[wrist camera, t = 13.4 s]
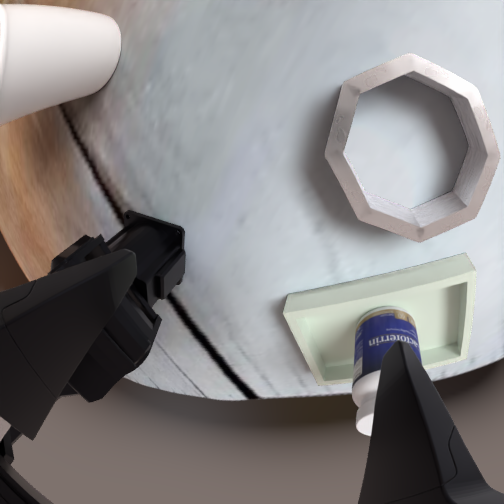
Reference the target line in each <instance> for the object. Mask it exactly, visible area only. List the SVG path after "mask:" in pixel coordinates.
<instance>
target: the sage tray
mask: <svg viewBox="0 0 504 504" xmlns="http://www.w3.org/2000/svg"><path fill="white" fill-rule="evenodd" d="M475 289H476V269H475V267H474V265H473V264H472V262H471V260H470V258H469V257H468V255H467V253H463V254H460V255H456V256H452V257H449V258H445V259H441V260H438V261H434V262H430V263H426V264H422V265H418V266H414V267H410V268H406V269H402V270H398V271H394V272H390V273H386V274H381V275H377V276H373V277H368V278H364V279H359V280H355V281H350V282H346V283H341V284H336V285H332V286H327V287H322V288H317V289H312V290H307V291H302V292H296V293H291V294H288V297H287V300H286V304H285V307H284V311H283V315H284V317H285V319H286V321H287V323H288V325H289V327H290V329H291V331H292V333H293V335H294V337H295V339H296V341H297V343H298V345H299V347H300V349H301V351H302V353H303V355H304V357H305V359H306V362H307V364H308V366H309V368H310V370H311V372H312V374H313V376H314V378H315V380H316V382H317V384H318V386H322V385H333V384H343V383H351V382H353V371H354V351H355V331H356V326H357V324H358V322H359V321H360V319H361V318H362V317H363V316H364V315H365V314H367V313H368V312H370V311H372V310H374V309H376V308H380V307H386V306H395V307H400V308H403V309H405V310H406V311H408V312H409V313H410V314H411V315H412V317H413V319H414V321H415V325H416V330H417V335H418V341H419V347H420V354H421V360H422V366H423V367H424V369H425V370H426V369H431V368H435V367H439V366H443V365H447V364H451V363H454V362H458V361H462V360H465V359H467V354H468V348H469V342H470V336H471V329H472V321H473V313H474V302H475Z"/></svg>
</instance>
